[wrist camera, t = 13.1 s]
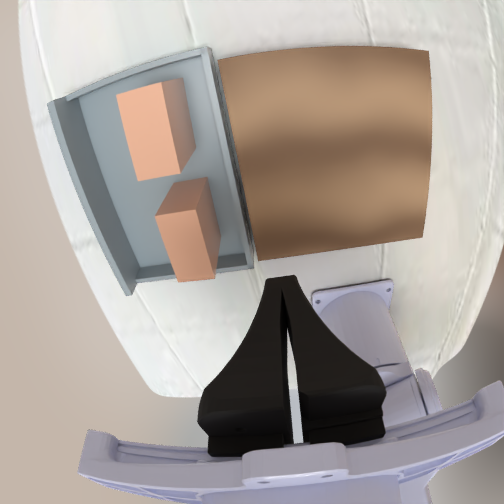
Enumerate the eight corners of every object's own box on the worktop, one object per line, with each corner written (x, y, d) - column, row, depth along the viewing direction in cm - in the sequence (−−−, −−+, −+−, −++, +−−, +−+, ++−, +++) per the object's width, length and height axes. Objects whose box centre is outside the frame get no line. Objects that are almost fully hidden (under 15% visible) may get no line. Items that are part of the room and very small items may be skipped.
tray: (253, 253, 25) (253, 281, 22) (137, 269, 26) (125, 295, 23) (211, 48, 16) (202, 44, 13) (73, 95, 17) (46, 103, 14)
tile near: (180, 173, 15) (138, 181, 15) (196, 147, 19) (161, 154, 20) (161, 82, 12) (116, 94, 13) (183, 77, 16) (146, 86, 17)
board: (409, 221, 23) (422, 237, 21) (257, 242, 24) (258, 260, 22) (410, 50, 15) (428, 51, 13) (221, 60, 16) (217, 59, 14)
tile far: (214, 278, 19) (178, 282, 20) (221, 236, 23) (190, 240, 24) (195, 209, 16) (154, 216, 17) (207, 176, 21) (173, 182, 21)
